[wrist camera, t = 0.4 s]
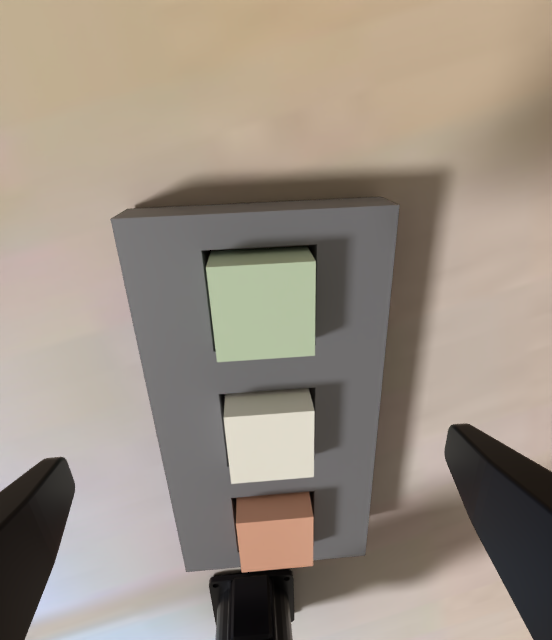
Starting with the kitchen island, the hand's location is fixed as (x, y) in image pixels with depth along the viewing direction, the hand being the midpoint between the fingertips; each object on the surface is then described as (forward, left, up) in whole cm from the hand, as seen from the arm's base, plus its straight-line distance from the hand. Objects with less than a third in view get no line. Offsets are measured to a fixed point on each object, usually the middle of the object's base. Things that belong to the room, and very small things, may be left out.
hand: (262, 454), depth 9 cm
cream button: (-8, 0, -11) cm, 13 cm away
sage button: (0, 0, -11) cm, 11 cm away
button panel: (-8, 0, -12) cm, 14 cm away
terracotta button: (-15, 0, -11) cm, 18 cm away
